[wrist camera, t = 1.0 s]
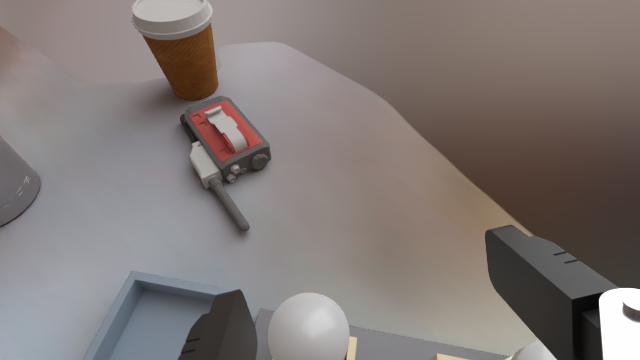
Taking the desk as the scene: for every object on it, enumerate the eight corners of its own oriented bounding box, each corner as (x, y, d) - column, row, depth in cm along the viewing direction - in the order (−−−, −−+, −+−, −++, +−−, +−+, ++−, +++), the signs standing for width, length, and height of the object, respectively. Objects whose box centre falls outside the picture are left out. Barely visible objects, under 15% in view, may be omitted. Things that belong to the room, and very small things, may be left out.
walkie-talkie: (168, 131, 46) (239, 242, 36) (156, 105, 43) (231, 219, 33) (228, 106, 50) (309, 201, 40) (221, 79, 46) (308, 176, 36)
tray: (81, 407, 27) (59, 403, 25) (144, 283, 33) (131, 270, 31) (205, 437, 26) (194, 435, 24) (247, 303, 32) (241, 291, 30)
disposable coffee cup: (150, 87, 51) (112, 3, 42) (204, 60, 56) (182, -21, 46) (186, 117, 47) (154, 33, 38) (242, 86, 52) (226, 3, 42)
